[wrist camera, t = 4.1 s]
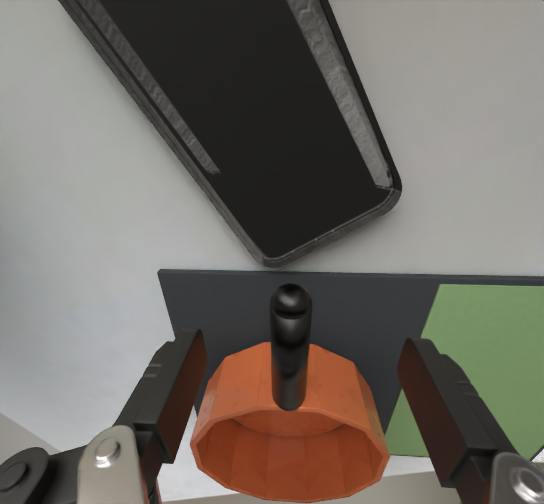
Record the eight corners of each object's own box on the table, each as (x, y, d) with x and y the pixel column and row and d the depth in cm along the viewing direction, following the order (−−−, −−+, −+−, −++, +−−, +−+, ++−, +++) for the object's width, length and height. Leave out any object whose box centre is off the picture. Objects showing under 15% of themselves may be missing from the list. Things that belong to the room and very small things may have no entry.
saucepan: (220, 433, 23) (205, 499, 19) (180, 244, 14) (136, 297, 10) (355, 441, 22) (369, 511, 18) (407, 247, 13) (458, 306, 9)
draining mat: (205, 439, 25) (204, 445, 25) (159, 268, 16) (156, 273, 15) (525, 458, 23) (530, 465, 23) (695, 279, 14) (709, 284, 13)
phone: (190, -339, 6) (410, 201, 11) (204, -274, 7) (400, 194, 12) (10, -58, 8) (264, 275, 14) (40, -40, 9) (266, 264, 15)
